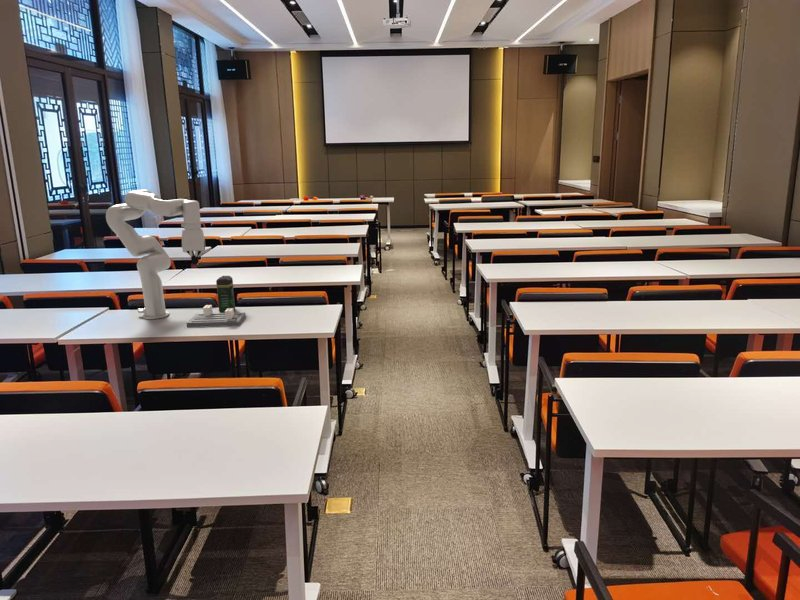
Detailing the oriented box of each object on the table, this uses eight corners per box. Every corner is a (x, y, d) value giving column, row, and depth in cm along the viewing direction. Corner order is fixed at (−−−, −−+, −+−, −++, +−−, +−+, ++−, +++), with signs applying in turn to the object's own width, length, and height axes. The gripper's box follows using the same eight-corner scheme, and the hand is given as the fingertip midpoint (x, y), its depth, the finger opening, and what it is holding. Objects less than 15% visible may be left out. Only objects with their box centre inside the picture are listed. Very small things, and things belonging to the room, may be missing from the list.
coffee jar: (233, 313, 305) (229, 278, 300) (217, 313, 304) (214, 279, 299) (237, 308, 314) (233, 274, 309) (222, 308, 313) (218, 274, 308)
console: (186, 326, 284) (185, 312, 282) (196, 317, 298) (194, 304, 296) (238, 325, 284) (237, 311, 282) (245, 316, 299) (244, 303, 297)
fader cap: (225, 319, 285) (224, 311, 284) (228, 316, 290) (227, 308, 288) (231, 319, 285) (230, 310, 284) (234, 316, 290) (233, 308, 288)
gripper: (173, 227, 276) (177, 265, 281) (205, 228, 277) (208, 266, 282) (179, 224, 283) (182, 262, 289) (210, 225, 284) (212, 262, 289)
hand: (195, 264), depth 285 cm, fingers closed
